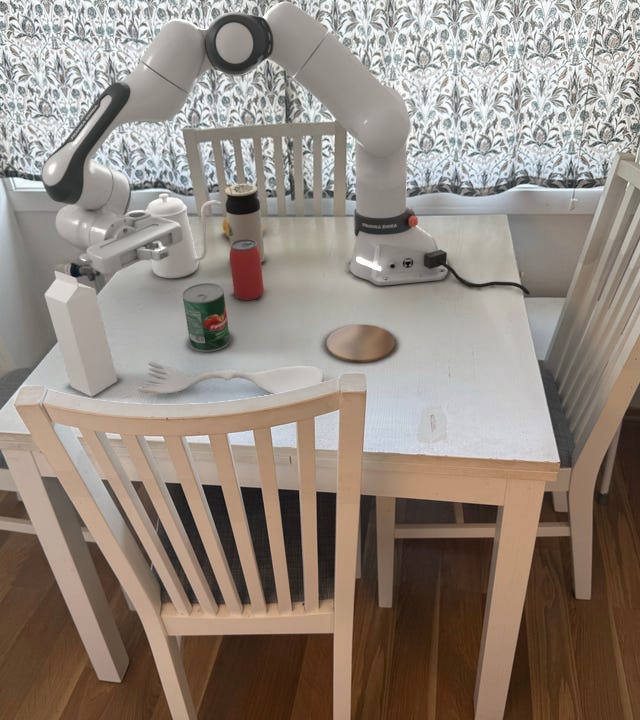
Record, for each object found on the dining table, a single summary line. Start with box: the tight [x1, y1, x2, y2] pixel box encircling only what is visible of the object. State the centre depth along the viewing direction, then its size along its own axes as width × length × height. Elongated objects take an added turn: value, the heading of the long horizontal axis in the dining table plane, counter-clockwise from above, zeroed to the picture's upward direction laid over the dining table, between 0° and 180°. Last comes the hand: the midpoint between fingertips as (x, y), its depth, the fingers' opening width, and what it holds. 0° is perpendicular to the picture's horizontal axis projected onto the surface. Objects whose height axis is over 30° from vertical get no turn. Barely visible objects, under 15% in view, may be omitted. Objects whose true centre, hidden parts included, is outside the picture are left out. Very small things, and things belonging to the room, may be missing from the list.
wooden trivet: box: [326, 324, 396, 364], centre depth 130 cm, size 13×13×1 cm
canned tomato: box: [181, 282, 231, 353], centre depth 131 cm, size 8×8×11 cm
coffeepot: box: [125, 192, 222, 279], centre depth 158 cm, size 11×25×19 cm, turn 84°
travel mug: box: [224, 183, 266, 263], centre depth 161 cm, size 8×8×18 cm
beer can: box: [229, 239, 265, 301], centre depth 147 cm, size 7×7×12 cm
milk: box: [43, 270, 118, 398], centre depth 117 cm, size 6×6×22 cm
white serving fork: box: [136, 361, 325, 395], centre depth 119 cm, size 9×32×4 cm, turn 86°
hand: (163, 254), depth 130 cm, fingers closed
